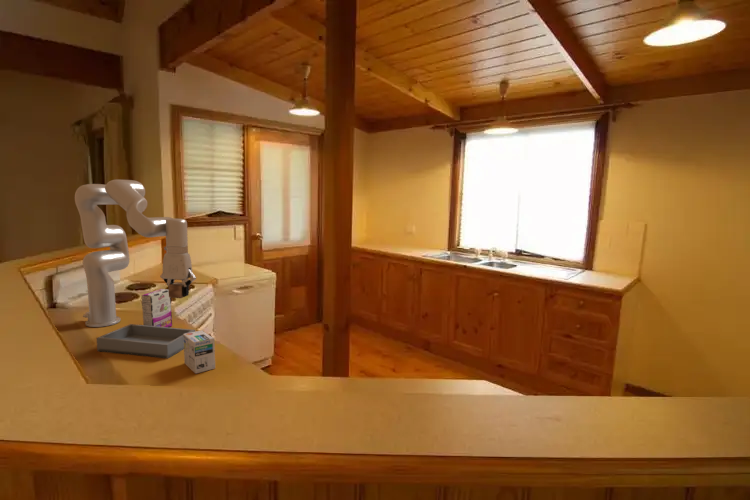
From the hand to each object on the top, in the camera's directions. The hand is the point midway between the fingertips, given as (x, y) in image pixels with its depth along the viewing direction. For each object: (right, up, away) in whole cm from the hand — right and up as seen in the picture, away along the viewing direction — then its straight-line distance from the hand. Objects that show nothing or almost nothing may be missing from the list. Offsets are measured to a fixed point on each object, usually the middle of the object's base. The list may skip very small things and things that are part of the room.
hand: (178, 295), depth 155 cm
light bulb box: (+19, -22, -23) cm, 37 cm away
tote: (-7, -18, -8) cm, 22 cm away
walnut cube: (0, -1, 0) cm, 1 cm away
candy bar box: (-14, -16, +10) cm, 23 cm away
